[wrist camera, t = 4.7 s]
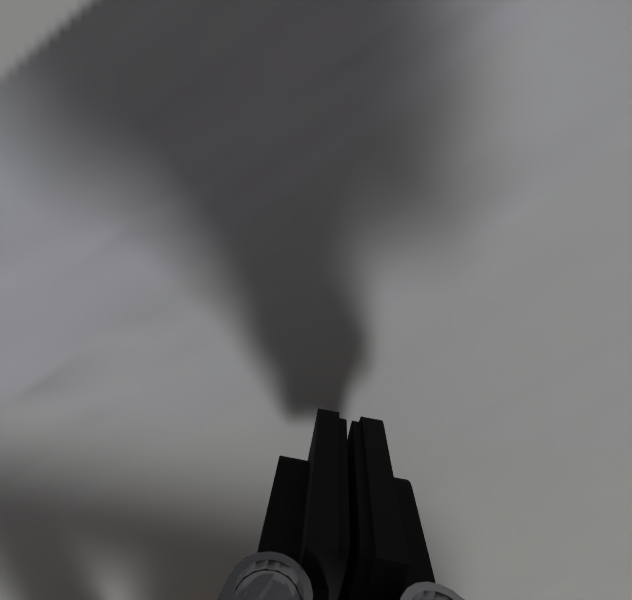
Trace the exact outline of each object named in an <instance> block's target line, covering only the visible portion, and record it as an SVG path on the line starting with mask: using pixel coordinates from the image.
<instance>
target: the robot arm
mask: <svg viewBox="0 0 632 600" xmlns="http://www.w3.org/2000/svg"><path fill="white" fill-rule="evenodd" d="M218 600H464V599H463V598H462V597H460V596H459V595H458V594H456V593H455V592H454V591H453V590H451V589H449V588H446V587H444V586H442V585H440V584H436V583H435V579H434V575H433V571H432V567H431V563H430V559H429V554H428V550H427V546H426V542H425V538H424V534H423V530H422V526H421V522H420V518H419V514H418V510H417V506H416V502H415V498H414V494H413V489H412V486H411V483H410V482H409V481H408V480H405V479H400V478H395V477H394V476H393V471H392V466H391V461H390V455H389V450H388V445H387V440H386V434H385V429H384V424H383V421H382V420H377V419H371V418H366V417H361V418H360V420H359V422H356V421H352V423H351V426H350V431H349V435H348V439H347V421H346V419H340V418H339V412H334V411H329V410H324V409H318V412H317V417H316V422H315V427H314V432H313V437H312V442H311V447H310V452H309V457H308V461H305V460H300V459H295V458H290V457H284V456H280V457H279V461H278V465H277V469H276V474H275V478H274V482H273V487H272V491H271V495H270V500H269V504H268V508H267V513H266V517H265V521H264V526H263V530H262V534H261V539H260V543H259V548H258V552H257V553H255V554H253V555H250V556H248V557H246V558H244V559H243V560H242V561H241V562H240V563H238V564H237V565H236V566H235V567H234V569H233V570H232V572H231V573H230V575H229V576H228V578H227V580H226V582H225V585H224V587H223V589H222V591H221V593H220V595H219V598H218Z"/></svg>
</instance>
